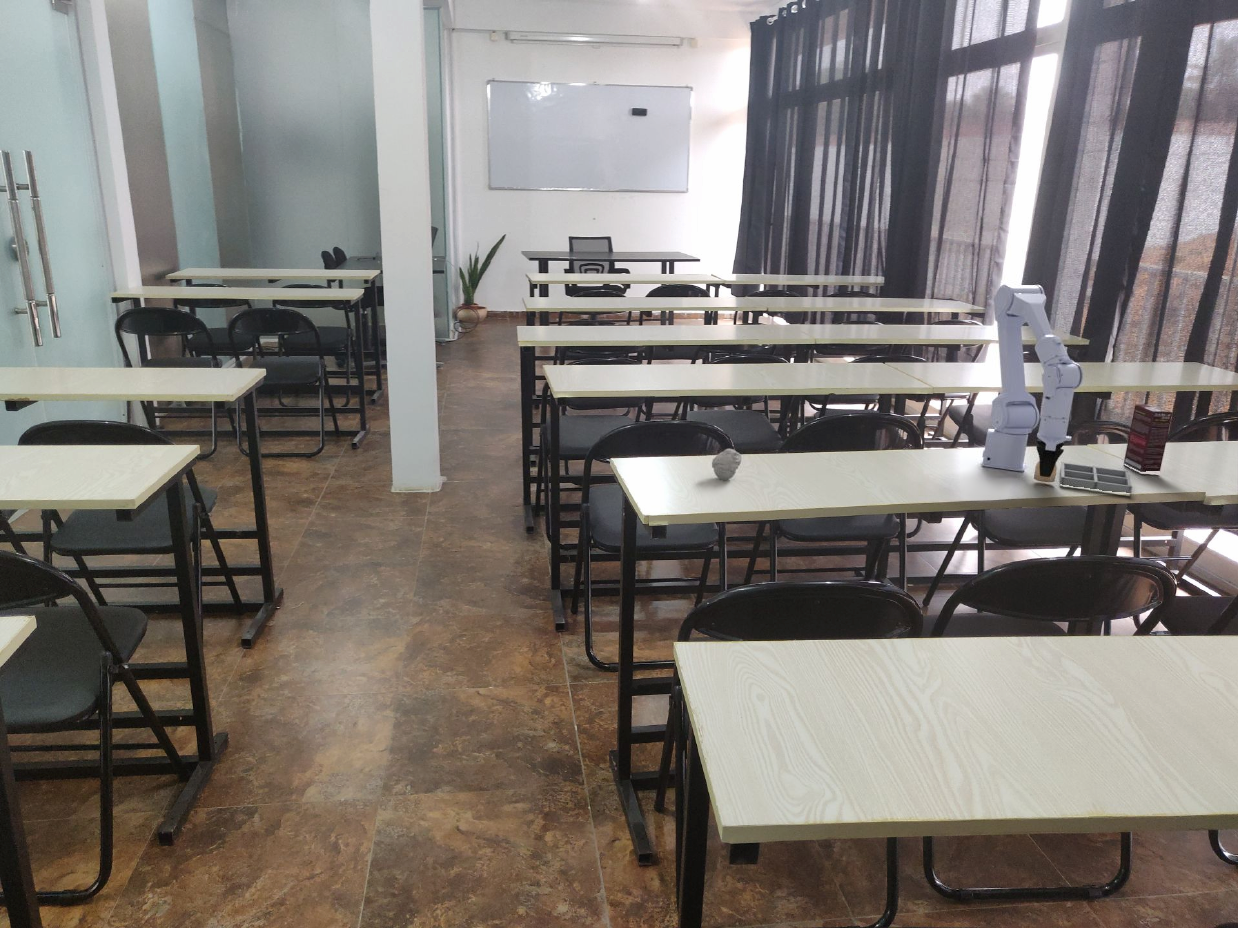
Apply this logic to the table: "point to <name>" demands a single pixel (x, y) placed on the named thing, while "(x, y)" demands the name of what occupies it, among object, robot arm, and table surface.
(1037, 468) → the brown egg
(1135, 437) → the supplement box
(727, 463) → the grey rounded lump
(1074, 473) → the gray divided compartment tray
